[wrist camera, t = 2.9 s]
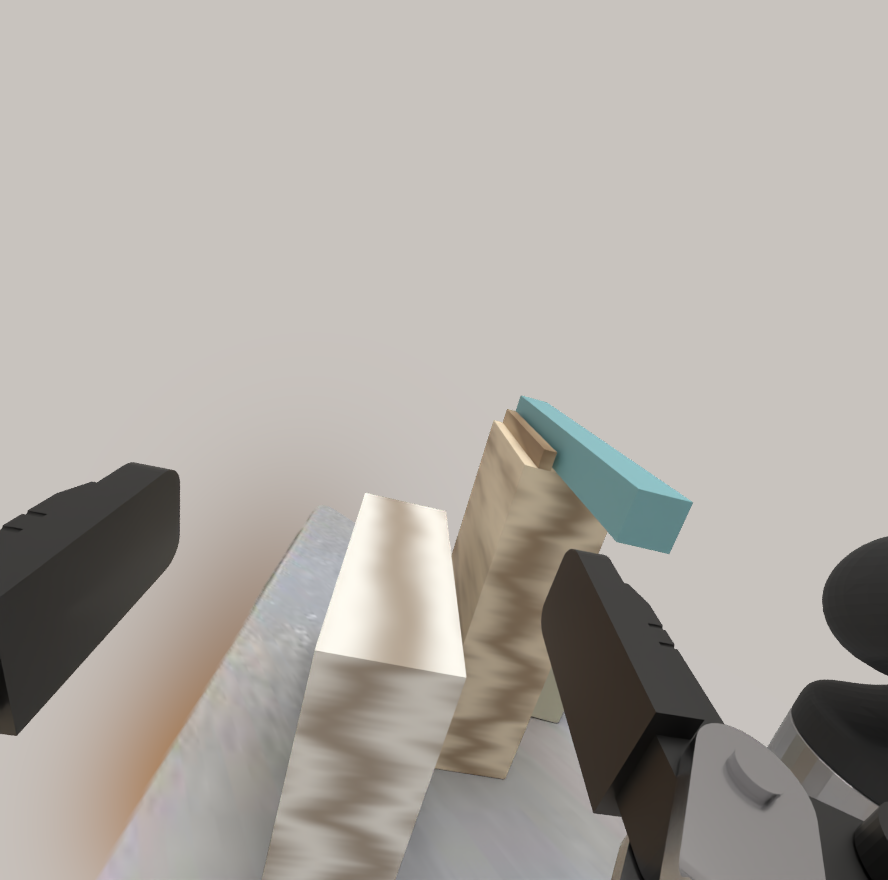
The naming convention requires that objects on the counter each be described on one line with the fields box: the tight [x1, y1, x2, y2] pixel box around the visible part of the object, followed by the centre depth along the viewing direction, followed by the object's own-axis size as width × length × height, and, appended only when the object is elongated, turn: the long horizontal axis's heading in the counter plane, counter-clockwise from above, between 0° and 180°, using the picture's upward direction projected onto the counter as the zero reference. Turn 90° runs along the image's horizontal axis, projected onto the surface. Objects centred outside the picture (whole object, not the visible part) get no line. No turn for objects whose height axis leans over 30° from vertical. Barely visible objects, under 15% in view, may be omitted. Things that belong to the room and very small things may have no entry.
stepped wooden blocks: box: [262, 409, 607, 880], centre depth 36 cm, size 19×25×32 cm
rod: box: [516, 396, 693, 554], centre depth 34 cm, size 3×26×3 cm, turn 3°
